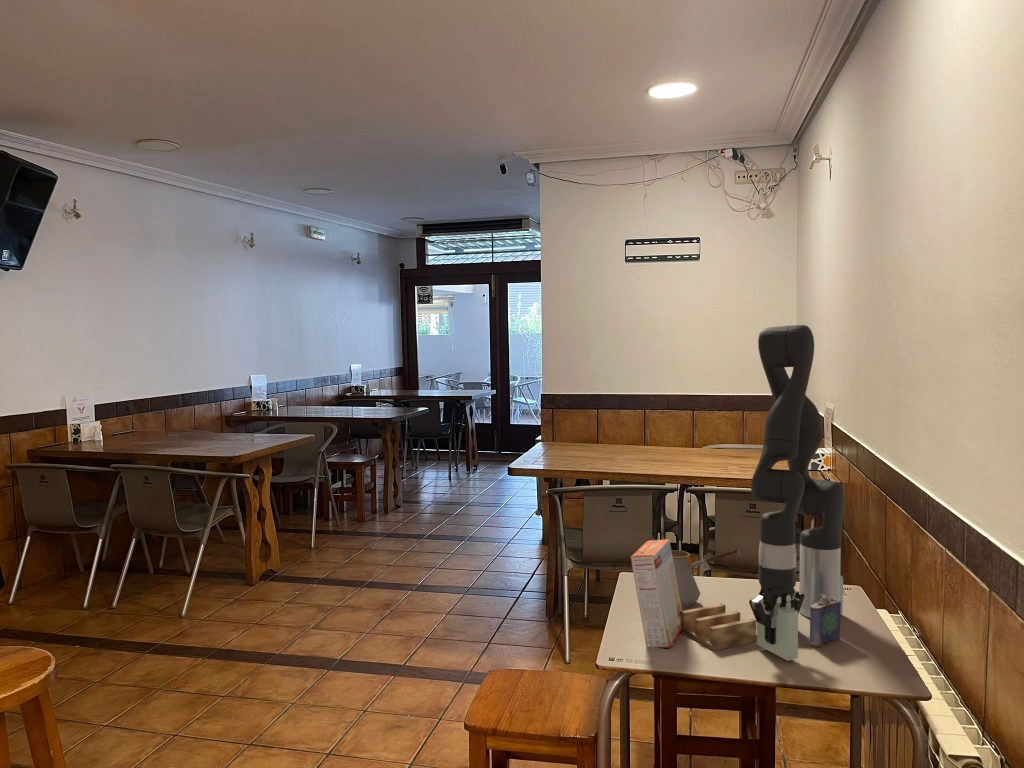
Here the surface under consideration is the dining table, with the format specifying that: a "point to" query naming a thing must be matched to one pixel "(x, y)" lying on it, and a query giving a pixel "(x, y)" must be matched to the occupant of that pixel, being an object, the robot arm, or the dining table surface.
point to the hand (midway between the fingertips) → (776, 641)
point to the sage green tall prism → (782, 634)
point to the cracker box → (657, 593)
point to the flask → (825, 621)
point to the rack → (718, 627)
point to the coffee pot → (690, 575)
